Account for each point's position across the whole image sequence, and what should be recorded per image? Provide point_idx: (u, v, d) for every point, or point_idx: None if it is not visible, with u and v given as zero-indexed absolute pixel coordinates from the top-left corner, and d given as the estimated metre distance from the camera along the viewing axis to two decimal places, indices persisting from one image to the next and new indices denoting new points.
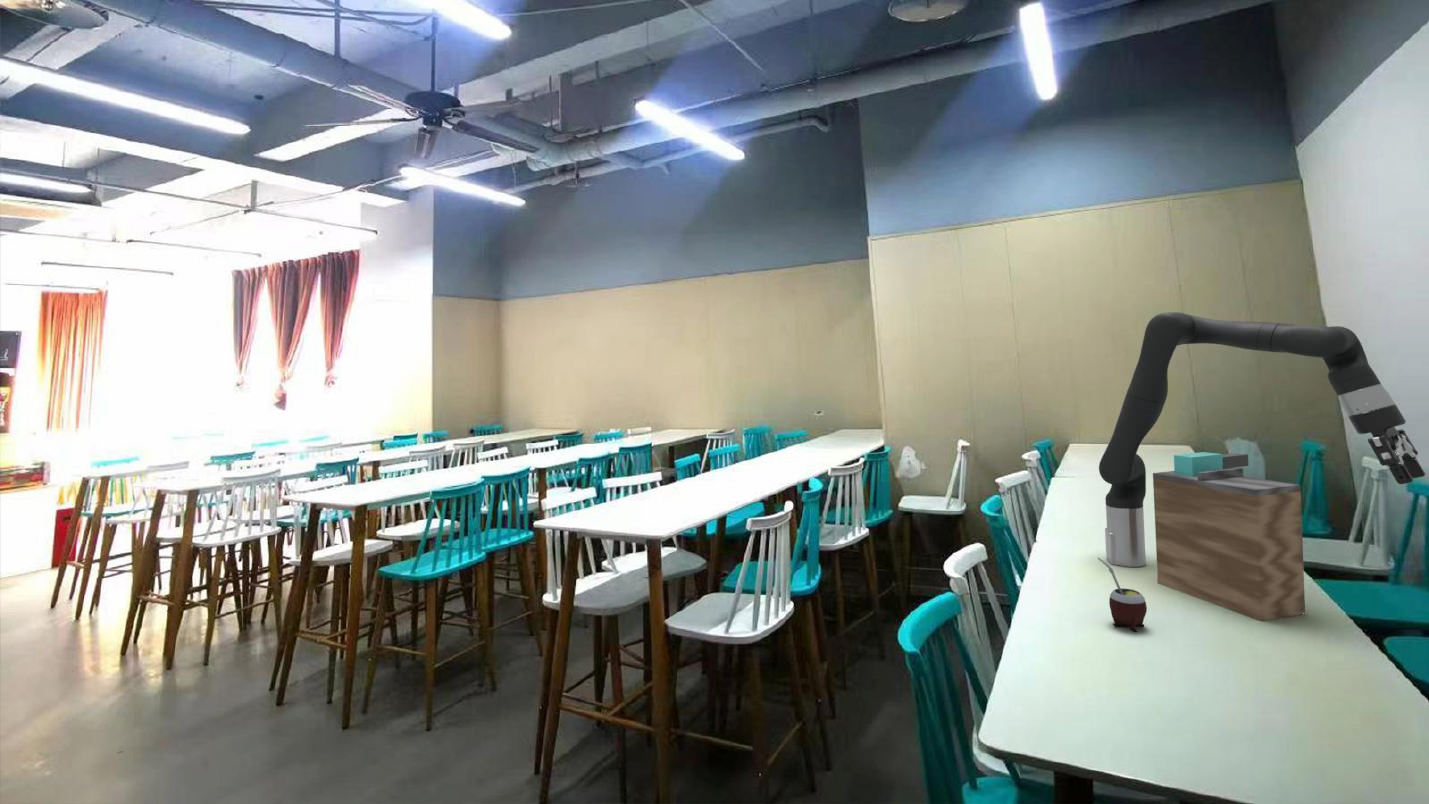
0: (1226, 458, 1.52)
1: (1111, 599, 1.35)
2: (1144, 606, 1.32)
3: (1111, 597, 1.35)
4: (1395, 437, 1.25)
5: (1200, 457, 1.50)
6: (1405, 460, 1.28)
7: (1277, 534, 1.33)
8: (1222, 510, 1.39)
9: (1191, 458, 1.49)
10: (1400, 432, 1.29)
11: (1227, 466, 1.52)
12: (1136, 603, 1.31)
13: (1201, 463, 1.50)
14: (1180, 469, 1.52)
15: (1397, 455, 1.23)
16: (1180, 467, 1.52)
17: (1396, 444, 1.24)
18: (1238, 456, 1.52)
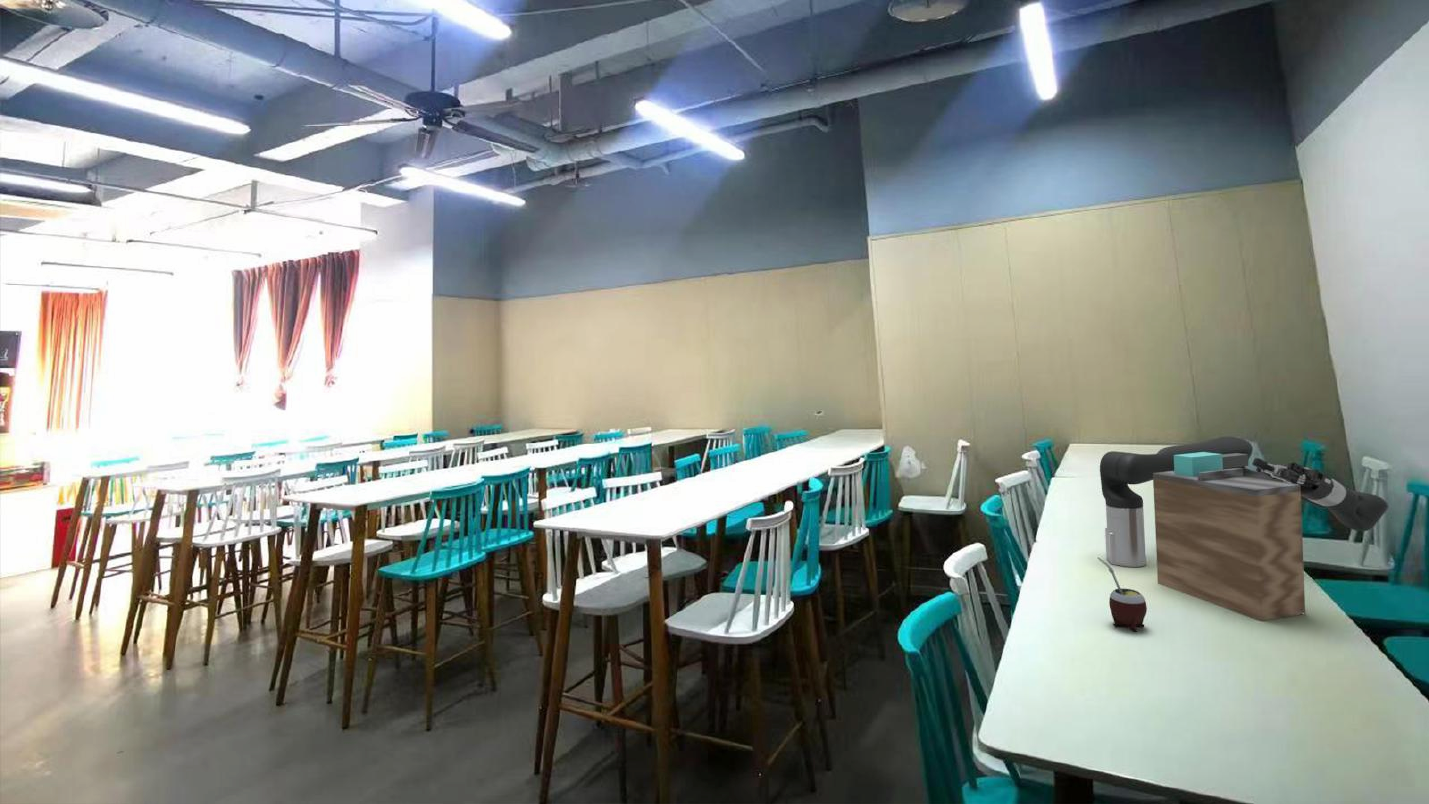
0: (1226, 458, 1.52)
1: (1111, 599, 1.35)
2: (1144, 606, 1.32)
3: (1111, 597, 1.35)
4: (1303, 483, 1.55)
5: (1200, 457, 1.50)
6: (1267, 465, 1.60)
7: (1277, 534, 1.33)
8: (1222, 510, 1.39)
9: (1191, 458, 1.49)
10: (1275, 477, 1.63)
11: (1227, 466, 1.52)
12: (1136, 603, 1.31)
13: (1201, 463, 1.50)
14: (1180, 469, 1.52)
15: (1305, 478, 1.52)
16: (1180, 467, 1.52)
17: (1304, 481, 1.54)
18: (1238, 456, 1.52)
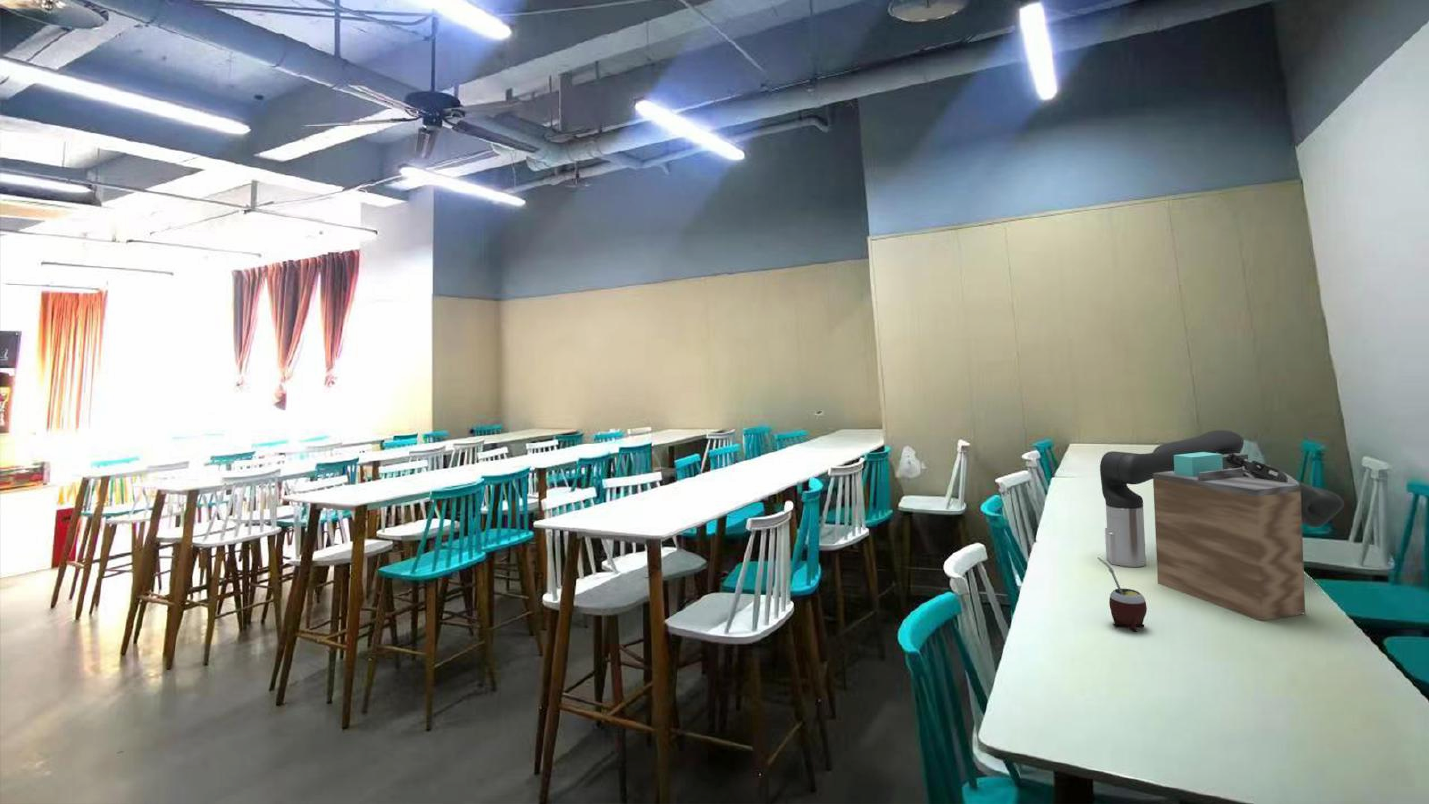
0: (1226, 458, 1.52)
1: (1111, 599, 1.35)
2: (1144, 606, 1.32)
3: (1111, 597, 1.35)
4: None
5: (1200, 457, 1.50)
6: None
7: (1277, 534, 1.33)
8: (1222, 510, 1.39)
9: (1191, 458, 1.49)
10: None
11: (1227, 466, 1.52)
12: (1136, 603, 1.31)
13: (1201, 463, 1.50)
14: (1180, 469, 1.52)
15: (1247, 470, 1.52)
16: (1180, 467, 1.52)
17: (1253, 475, 1.52)
18: None
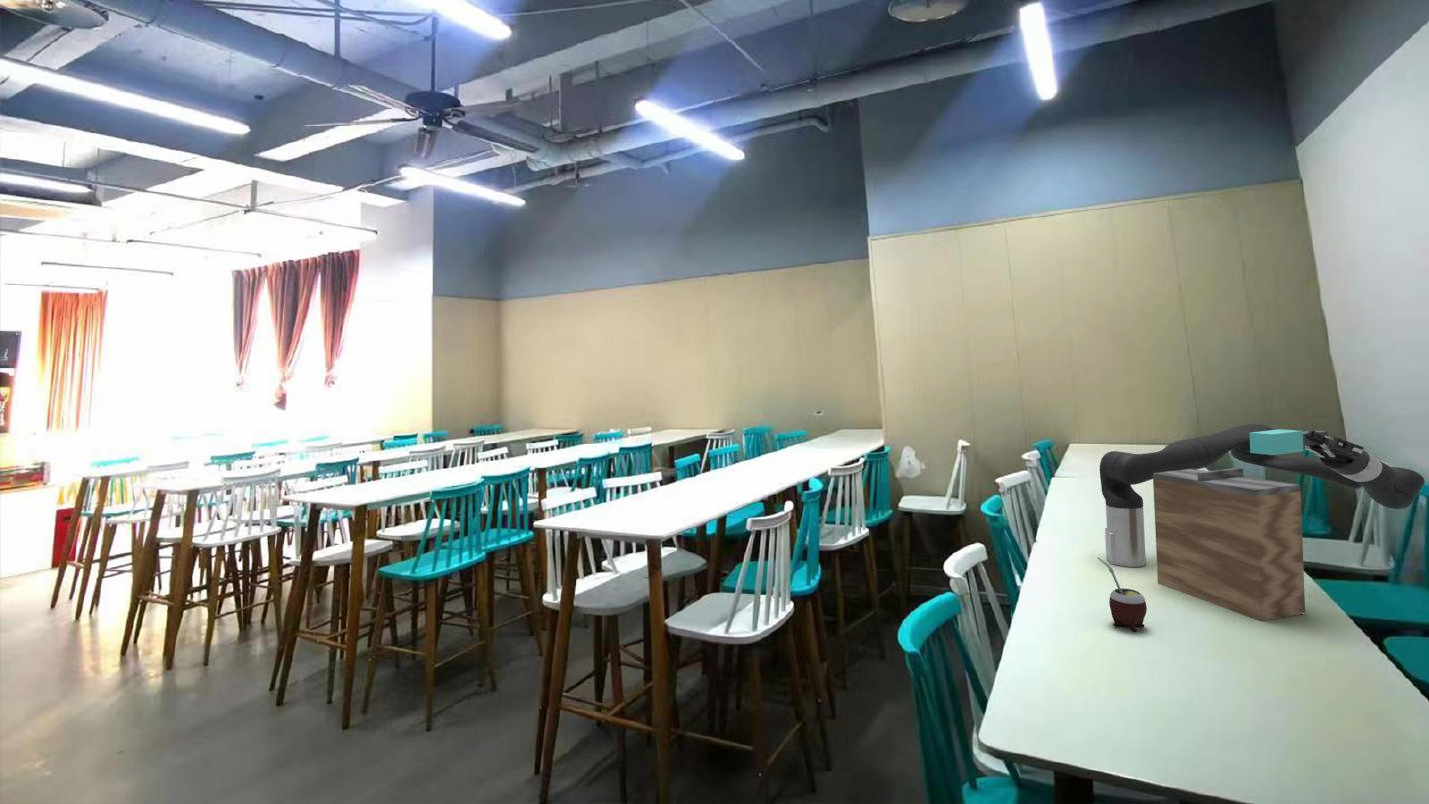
0: (1306, 435, 1.43)
1: (1111, 599, 1.35)
2: (1144, 606, 1.32)
3: (1111, 597, 1.35)
4: (1337, 456, 1.44)
5: (1280, 434, 1.40)
6: None
7: (1277, 534, 1.33)
8: (1222, 510, 1.39)
9: (1271, 435, 1.40)
10: None
11: (1307, 444, 1.43)
12: (1136, 603, 1.31)
13: (1281, 440, 1.40)
14: (1257, 448, 1.43)
15: (1328, 447, 1.43)
16: (1257, 445, 1.43)
17: (1334, 453, 1.43)
18: None
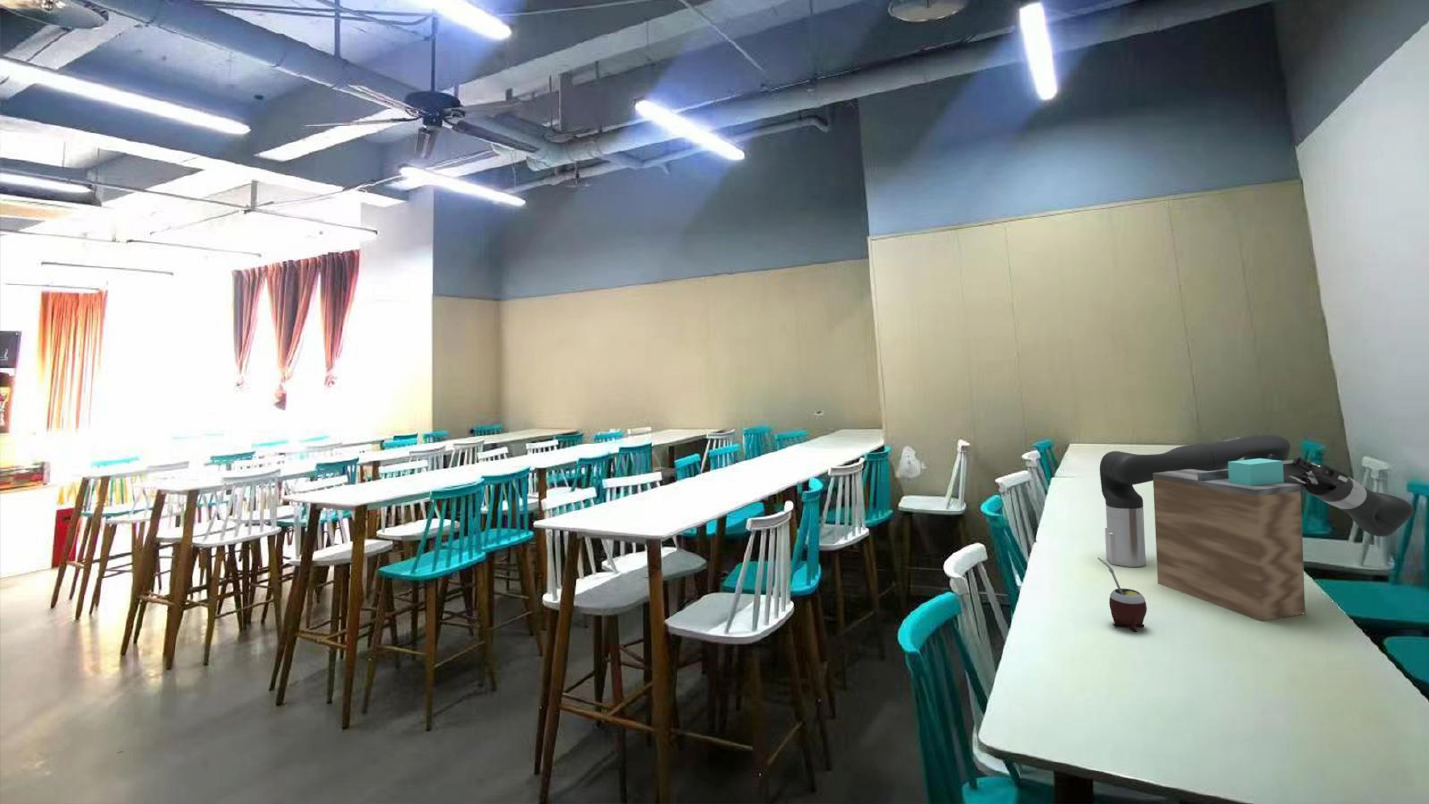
0: (1286, 465, 1.38)
1: (1111, 599, 1.35)
2: (1144, 606, 1.32)
3: (1111, 597, 1.35)
4: (1319, 483, 1.39)
5: (1259, 464, 1.36)
6: None
7: (1277, 534, 1.33)
8: (1222, 510, 1.39)
9: (1249, 465, 1.36)
10: None
11: (1288, 474, 1.38)
12: (1136, 603, 1.31)
13: (1260, 471, 1.36)
14: (1236, 478, 1.39)
15: (1314, 475, 1.37)
16: (1236, 475, 1.39)
17: (1317, 480, 1.38)
18: None
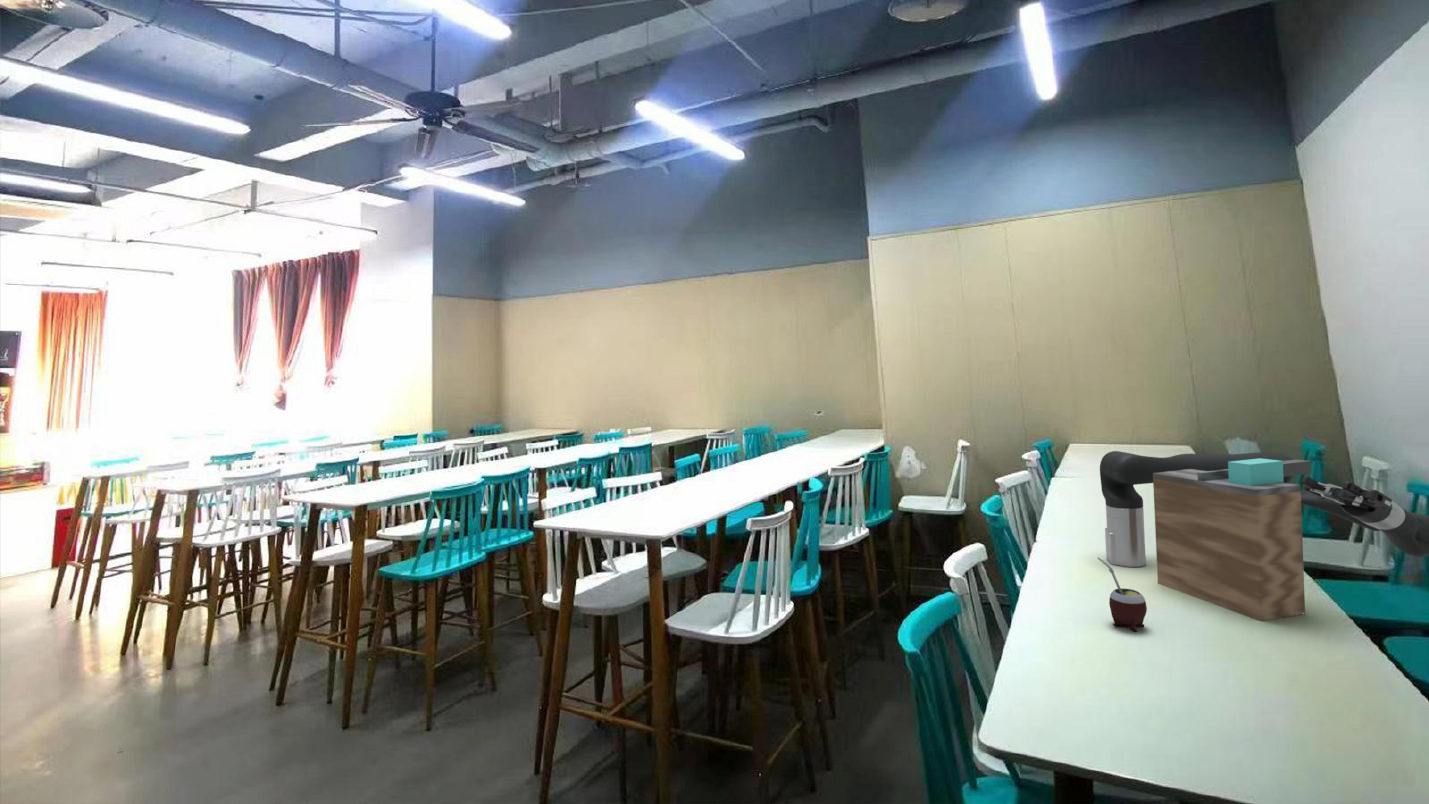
0: (1286, 465, 1.38)
1: (1111, 599, 1.35)
2: (1144, 606, 1.32)
3: (1111, 597, 1.35)
4: (1358, 505, 1.41)
5: (1259, 464, 1.36)
6: (1317, 484, 1.46)
7: (1277, 534, 1.33)
8: (1222, 510, 1.39)
9: (1249, 465, 1.36)
10: (1325, 497, 1.49)
11: (1288, 474, 1.38)
12: (1136, 603, 1.31)
13: (1260, 471, 1.36)
14: (1236, 478, 1.39)
15: (1362, 499, 1.38)
16: (1236, 475, 1.39)
17: (1360, 503, 1.40)
18: (1299, 463, 1.39)
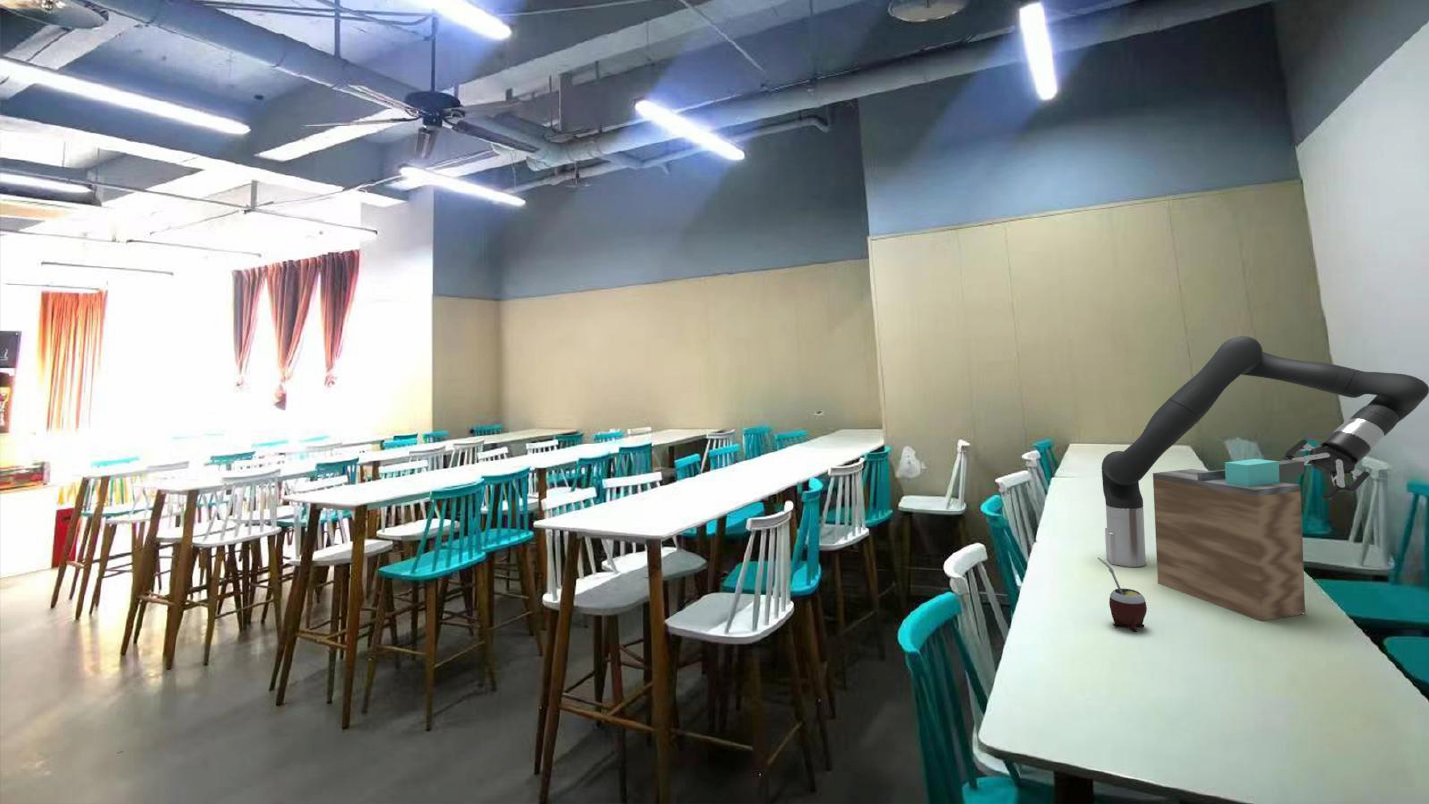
0: (1282, 466, 1.38)
1: (1111, 599, 1.35)
2: (1144, 606, 1.32)
3: (1111, 597, 1.35)
4: None
5: (1256, 465, 1.35)
6: None
7: (1277, 534, 1.33)
8: (1222, 510, 1.39)
9: (1247, 466, 1.35)
10: None
11: (1283, 474, 1.38)
12: (1136, 603, 1.31)
13: (1257, 471, 1.35)
14: (1233, 478, 1.38)
15: None
16: (1233, 476, 1.38)
17: None
18: (1294, 463, 1.39)
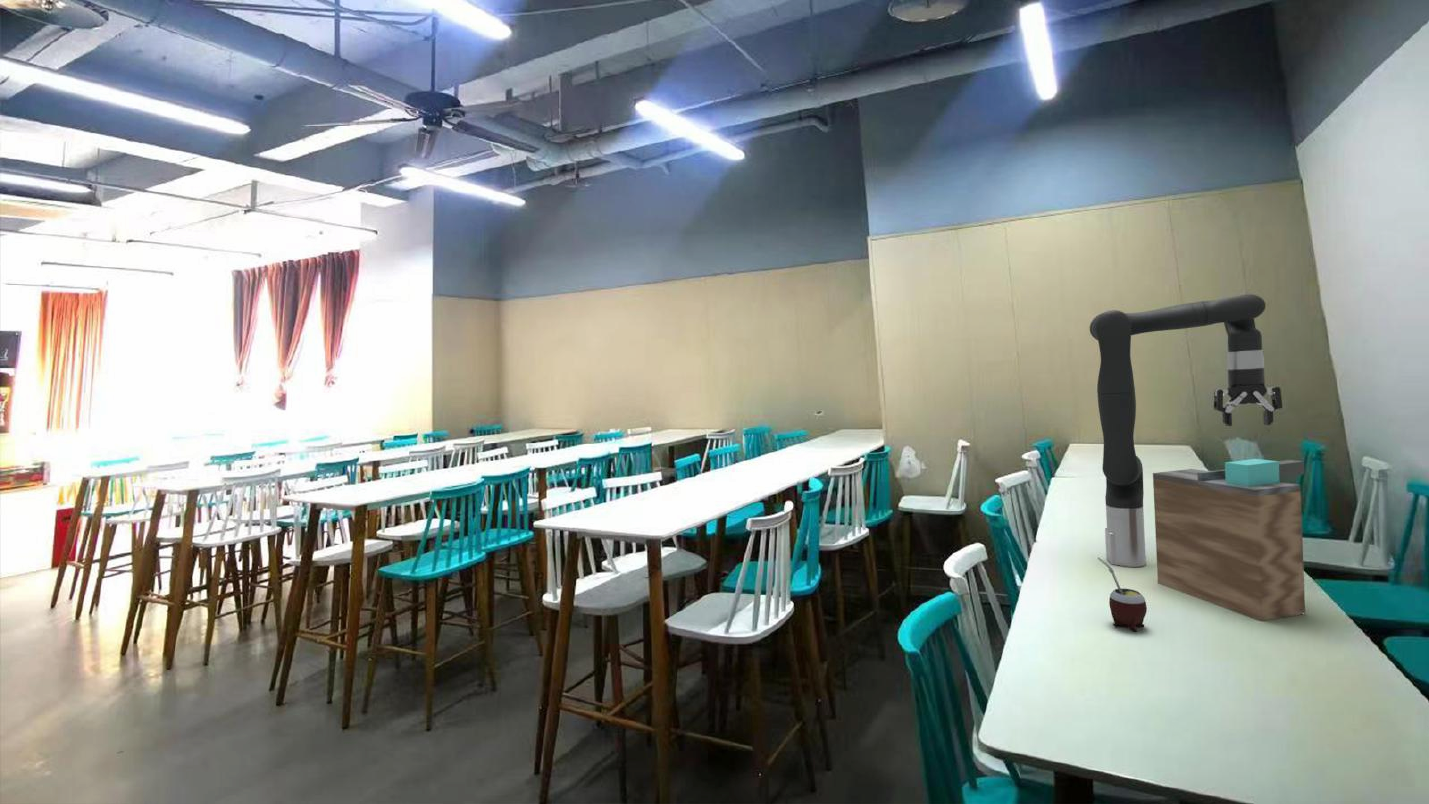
0: (1282, 466, 1.38)
1: (1111, 599, 1.35)
2: (1144, 606, 1.32)
3: (1111, 597, 1.35)
4: None
5: (1256, 465, 1.35)
6: None
7: (1277, 534, 1.33)
8: (1222, 510, 1.39)
9: (1247, 466, 1.35)
10: None
11: (1283, 474, 1.38)
12: (1136, 603, 1.31)
13: (1257, 471, 1.35)
14: (1233, 478, 1.38)
15: None
16: (1233, 476, 1.38)
17: None
18: (1294, 463, 1.39)
